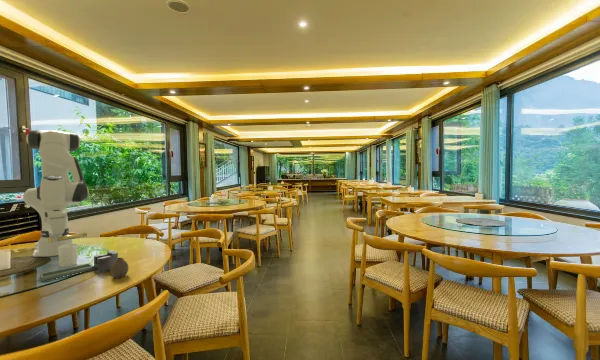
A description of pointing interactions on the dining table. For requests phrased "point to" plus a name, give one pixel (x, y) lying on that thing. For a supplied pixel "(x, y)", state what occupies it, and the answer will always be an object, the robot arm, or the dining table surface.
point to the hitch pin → (68, 237)
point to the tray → (65, 272)
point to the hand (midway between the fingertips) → (53, 241)
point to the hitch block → (105, 261)
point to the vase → (119, 268)
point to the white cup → (68, 254)
